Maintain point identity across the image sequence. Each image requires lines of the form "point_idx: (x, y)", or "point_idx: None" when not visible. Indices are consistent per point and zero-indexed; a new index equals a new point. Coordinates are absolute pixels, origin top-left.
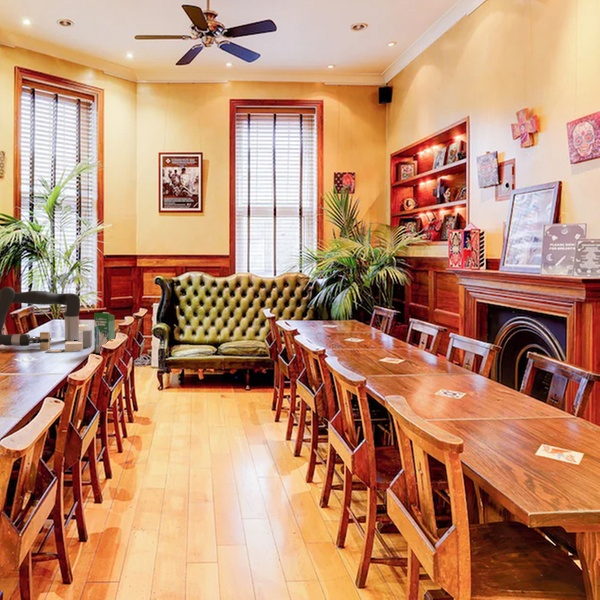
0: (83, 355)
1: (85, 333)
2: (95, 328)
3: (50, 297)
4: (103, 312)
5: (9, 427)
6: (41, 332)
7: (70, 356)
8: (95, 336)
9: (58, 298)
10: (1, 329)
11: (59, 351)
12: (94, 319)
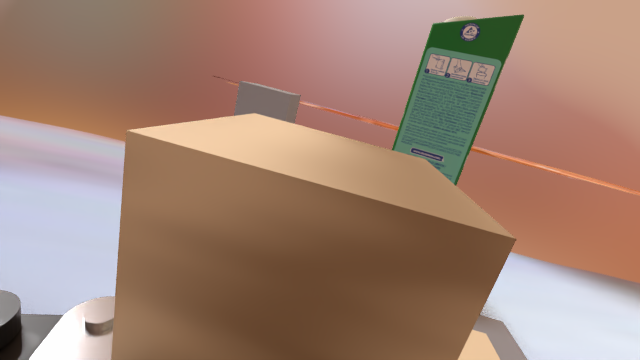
0: (528, 258)
1: (291, 112)
2: (488, 104)
3: None
4: (475, 18)
5: None
6: (422, 197)
7: (600, 304)
8: (471, 144)
9: None
10: None
11: (492, 328)
12: (508, 54)
